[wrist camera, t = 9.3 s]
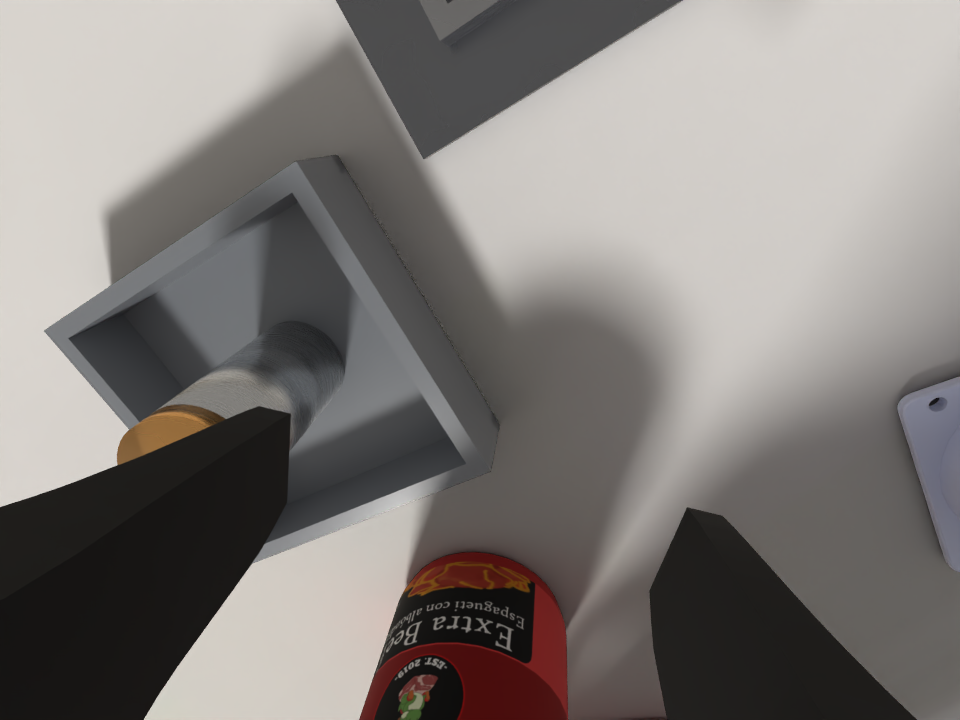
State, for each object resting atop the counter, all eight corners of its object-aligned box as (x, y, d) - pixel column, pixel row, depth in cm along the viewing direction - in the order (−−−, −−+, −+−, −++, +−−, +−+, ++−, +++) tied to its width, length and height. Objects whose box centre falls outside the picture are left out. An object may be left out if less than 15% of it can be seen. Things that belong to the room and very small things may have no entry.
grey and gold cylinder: (360, 356, 19) (265, 471, 13) (319, 420, 21) (215, 551, 14) (279, 303, 19) (140, 394, 13) (242, 371, 20) (101, 484, 14)
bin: (337, 154, 17) (295, 160, 14) (499, 424, 20) (490, 471, 18) (111, 302, 20) (43, 330, 18) (282, 514, 24) (246, 565, 21)
